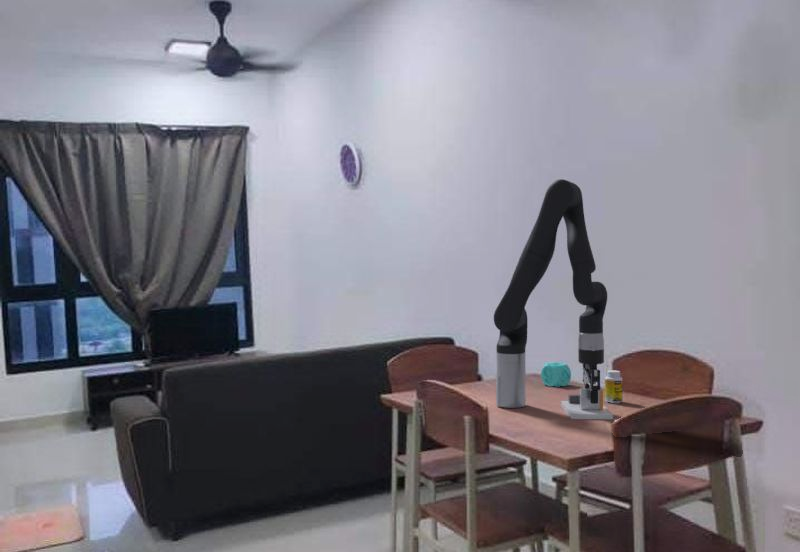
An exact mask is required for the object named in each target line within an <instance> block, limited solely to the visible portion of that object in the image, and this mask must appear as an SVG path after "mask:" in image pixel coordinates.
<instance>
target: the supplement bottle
mask: <svg viewBox="0 0 800 552" xmlns="http://www.w3.org/2000/svg"><path fill="white" fill-rule="evenodd" d="M606 373H607V376H605V378H604V401H605V402H606V403H608V402H610V403H609V404H621V403H622V402H623V377H622V376H621V371H620V370H614V369H613V370H607V372H606ZM620 402H621V403H620Z"/></svg>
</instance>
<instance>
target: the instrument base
mask: <svg viewBox="0 0 800 552" xmlns="http://www.w3.org/2000/svg"><path fill="white" fill-rule="evenodd" d="M567 395H568V397H567V399H568V400H561V401H560V404H561V407H562V409H563V410H564V411H565V412H566V413H567V415H568V416H569V418H570V419H571V420H614V414H613V412H612V411H610V410H609V409H608V408H607V407H606V406H605V405H604V404H603V410H581V409H580V394H567Z"/></svg>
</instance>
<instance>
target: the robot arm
mask: <svg viewBox="0 0 800 552" xmlns="http://www.w3.org/2000/svg"><path fill="white" fill-rule="evenodd" d="M545 191H546V192H545V194H544V198H543V200H542V204H541V206H540V209H539V212H538V216H537V219H536V221H535V223H534V225H533V227H532V229H531V232H530V235H529V236H528V238H527V241H526V243H525V245H524V248H523V249H522V252H521V254H520V257H519V260H518V262H517V265H516V266H515V269H514V271H513V274H512V276H511V280H510V283H509V285H508V287H507V288H506V291H505V293H504V295H502V296H503V297H502V298H501V300H500V301H499V303H498V305H497V307H496V309H495V311H494V313H493V322H494V323H493V324H494V326H495V328H496V329H498V330H499V337H498V340H497V343H496V375H495V383H496V384H495V390H496V391H495V393H496V394H495V400H496V402H495V403H496V406H497V408H511V409H516V408H524V407H525V406H527V405H526V401H527V400H526V397H527V396H526V393H527V392H526V389H527V387H526V346H527V342H528V313H527V310H526V308H525V307H526V304H527V302H528V300H529V298H530V296H531V295H532V293H533V291H534V290H535V288H536V287H537V286H538V285H539V283H540V281H541V280H542V279H543V277H544V275H545V274H546V271H547V270H548V268H549V267H550V263H551V261H552V259H553V257H554V254H555V249H556V240H557V234H558V233H557V232H558V228H559V225H560V224H561V221H562V218H563V219H564V224H565V227H566V247H567V248H566V249H567V254H568V259H569V263H570V266H571V270H572V293H573V296H574V299H575V300H576V301H577V303H578V304H580V305H581V306H586V307H585V311H584V312H583V313H581V314H580V315H579V317H578V319H579V320H578V327H579V328H578V331H579V333H578V339H577V340H578V342H577V343H578V347H577V348H578V349H577V350H578V353H577V355H578V363H579V364H581V365H582V382H583V385H584V388H590V402H591V403H592V404H597V403H598V391H599V390H600V389H601V388H602V387H601V370H600V369H598V365H602V364H604V363H605V338H604V321H603V320H604V315H605V312H606V308H607V302H608V290H607V287H606V286H605V284H604V283H602V282H600V281H592V274H593V273H595V271H596V268H597V267H596V262H595V259H594V255H593V250H592V247H591V244H590V240H589V235H588V230H587V226H586V225H587V224H586V220H585V219H586V218H585V213H584V210H585V209H584V202H583V201H584V199H583V193H582V190H581V188H580V187H579V186H578V185H577V184H575V183H574V182H572V181H569V180H566V179H557V180H554V181H553V182H551V183H550V184H549V186H548V188H547V189H546V190H545Z"/></svg>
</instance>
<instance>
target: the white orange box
mask: <svg viewBox="0 0 800 552" xmlns="http://www.w3.org/2000/svg"><path fill="white" fill-rule="evenodd" d="M600 388H601V389H600V390H599V391H598V403H597V404H592V403H591V402H590V388H585V387H583V388H582V387H581V388H579V395H580V409H581V410H603V405H604V390H603V388H602V387H600Z"/></svg>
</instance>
